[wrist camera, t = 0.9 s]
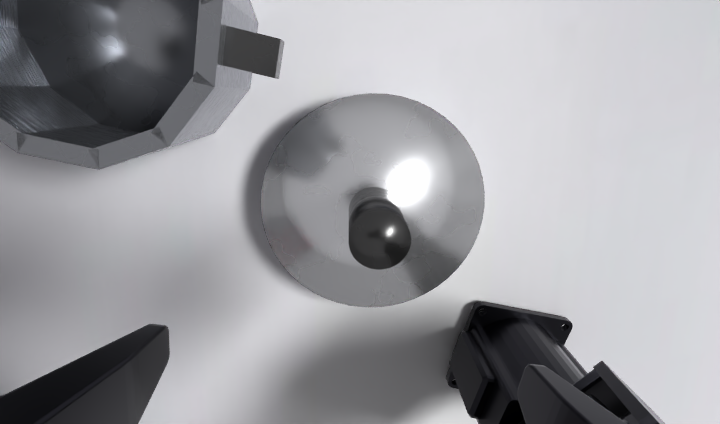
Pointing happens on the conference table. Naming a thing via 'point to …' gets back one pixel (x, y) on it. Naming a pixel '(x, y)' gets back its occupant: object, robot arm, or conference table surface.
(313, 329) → the conference table surface
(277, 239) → the lid
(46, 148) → the pot
